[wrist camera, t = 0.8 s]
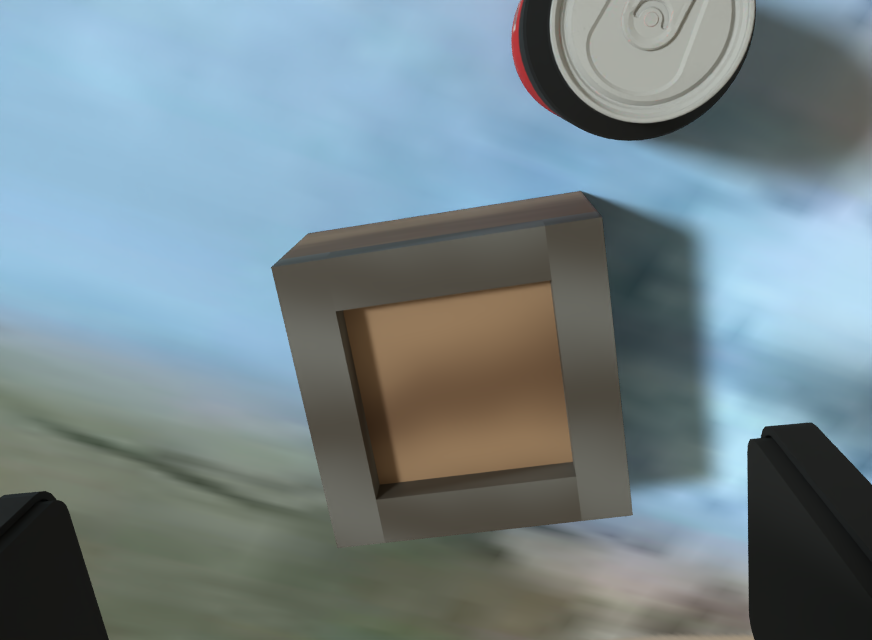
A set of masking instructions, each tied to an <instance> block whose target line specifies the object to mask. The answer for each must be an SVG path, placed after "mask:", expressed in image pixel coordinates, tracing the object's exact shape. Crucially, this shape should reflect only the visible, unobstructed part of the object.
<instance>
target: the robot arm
mask: <svg viewBox="0 0 872 640" xmlns="http://www.w3.org/2000/svg"><path fill="white" fill-rule="evenodd" d="M747 458H748V563H749V618H750V624H751V629H752V633H753V636H754V639H755V640H872V484H871V483H870V482H869V481H868V480H867V479H866V478H865V477H864V476H863V475H862V474H861V473H860V472H859V471H858V470H857V469H856V468H855V466H854V465H853V464H852V463H851V462H850V461H849V460H848V459H847V458H846V457H845V456H844V455H843V454H842V453H841V452H840V451H839V450H838V448H837V447H836V446H835V445H834V444H833V443H832V442H831V441H830V440H829V439H828V438H827V437H826V436H825V435H824V434H823V433H822V432H821V430H820V429H819V428H818V427H817V426H816V425H814V424H813V423H800V424H789V425H778V426H767V427H765V428H764V429H763V431H762V435H761V438H757V439H750V441H749V443H748V451H747ZM0 640H109V639H108V636H107V632H106V629H105V626H104V623H103V620H102V616H101V613H100V610H99V607H98V604H97V600H96V597H95V594H94V591H93V588H92V584H91V581H90V578H89V575H88V571H87V568H86V565H85V562H84V559H83V555H82V552H81V549H80V546H79V543H78V539H77V536H76V533H75V530H74V527H73V523H72V520H71V517H70V514H69V511H68V509H67V506H66V505H65V504H64V503H63V502H62V501H59V500H56V498H55V497H54V496H53V495H52V494H51V493H49V492H46V491H43V492H32V493H21V494H10V495H4V496H2V497H0Z"/></svg>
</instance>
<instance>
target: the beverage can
mask: <svg viewBox="0 0 872 640" xmlns="http://www.w3.org/2000/svg"><path fill="white" fill-rule="evenodd" d="M755 14H756V0H521V1H520V3H519V5H518V8H517V11H516V14H515V17H514V21H513V27H512V38H511V39H512V54H513V59H514V64H515V67H516V70H517V73H518V75H519V77H520V79H521V81H522V83H523V85H524V86H525V88H526V89H527V91H528V92H529V93H530V95H531V96H532V97H533V98H534V99H535V100H536V101H537V102H538V103H539V104H540V105H542V106H543V107H544V108H546V109H547V110H549V111H550V112H552V113H554V114H556V115H557V116H559V117H561V118H563V119H564V120H566V121H568V122H569V123H571V124H573V125H575V126H576V127H578V128H580V129H582V130H584V131H586V132H589V133H591V134H594V135H597V136H600V137H604V138H608V139H615V140H627V141H632V140H644V139H651V138H655V137H659V136H663V135H665V134H668V133H671V132H674V131H676V130H678V129H680V128H682V127H684V126H686V125H688V124H689V123H691V122H693V121H694V120H696V119H697V118H699V117H700V116H701V115H703V114H704V113H705V112H706V111H707V110H709V109H710V108H711V107H712V106H713V105H714V104H715V103H716V102H717V101H718V100H719V99H720V98H721V97H722V95H723V94H724V93H725V92H726V91H727V89H728V88H729V87H730V85H731V84H732V82H733V81H734V79H735V78H736V76H737V74H738V72H739V71H740V69H741V67H742V65H743V63H744V60H745V58H746V56H747V53H748V50H749V47H750V44H751V40H752V36H753V31H754V25H755Z"/></svg>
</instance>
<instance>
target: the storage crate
mask: <svg viewBox="0 0 872 640" xmlns="http://www.w3.org/2000/svg"><path fill="white" fill-rule="evenodd" d="M271 268H272V273H273V277H274V281H275V285H276V290H277V294H278V298H279V302H280V307H281V311H282V315H283V319H284V323H285V328H286V332H287V336H288V340H289V345H290V349H291V353H292V357H293V362H294V366H295V370H296V374H297V378H298V383H299V387H300V391H301V395H302V400H303V404H304V408H305V412H306V417H307V421H308V425H309V429H310V433H311V438H312V442H313V446H314V450H315V455H316V459H317V463H318V467H319V472H320V476H321V480H322V484H323V488H324V493H325V497H326V501H327V505H328V510H329V514H330V518H331V522H332V527H333V531H334V535H335V539H336V544H337V548H342V547H351V546H360V545H369V544H378V543H387V542H396V541H405V540H414V539H423V538H432V537H441V536H450V535H459V534H468V533H477V532H486V531H495V530H504V529H513V528H522V527H531V526H540V525H549V524H558V523H567V522H576V521H585V520H594V519H603V518H612V517H621V516H630V515H633V513H632V504H631V494H630V484H629V474H628V465H627V455H626V445H625V435H624V426H623V416H622V406H621V396H620V386H619V377H618V367H617V357H616V347H615V338H614V328H613V318H612V308H611V299H610V289H609V279H608V269H607V259H606V250H605V240H604V230H603V220H602V216H601V215H600V214H599V213H598V211H597V210H596V209H595V208H594V207H593V205H592V204H591V203H590V202H589V201H588V199H587V198H586V197H585V196H584V195H583V193H582V192H581V191H578V192H571V193H565V194H558V195H552V196H546V197H539V198H533V199H526V200H520V201H514V202H507V203H501V204H494V205H488V206H481V207H475V208H469V209H462V210H456V211H449V212H443V213H437V214H430V215H424V216H417V217H411V218H404V219H398V220H392V221H385V222H379V223H372V224H366V225H360V226H353V227H347V228H340V229H334V230H327V231H321V232H315V233H308V234H307V235H306V236H305V237H304V238H303V239H302V240H300V241H299V242H298V243H297V244H296V245H295V246H294V247H293V248H292V249H291V250H290V251H288V252H287V253H286V254H285V255H284V256H283V257H282V258H281V259H280V260H279V261H278V262H277V263H275V264H274V265H273V266H272V267H271Z"/></svg>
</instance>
